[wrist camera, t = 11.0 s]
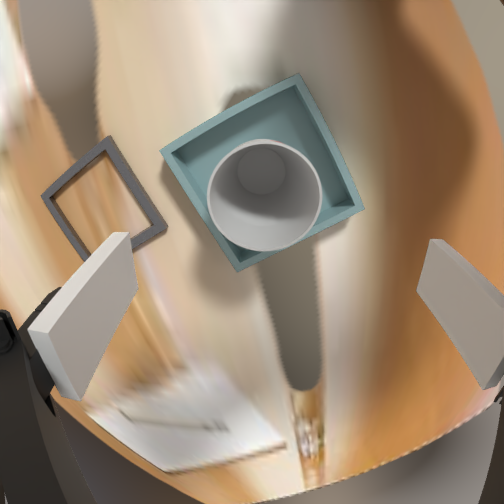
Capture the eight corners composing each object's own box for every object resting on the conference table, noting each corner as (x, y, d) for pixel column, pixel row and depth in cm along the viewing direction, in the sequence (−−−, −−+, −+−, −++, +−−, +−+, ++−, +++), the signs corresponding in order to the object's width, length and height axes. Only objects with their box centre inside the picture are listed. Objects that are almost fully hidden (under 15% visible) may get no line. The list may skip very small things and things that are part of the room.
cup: (314, 187, 31) (339, 221, 22) (245, 223, 33) (242, 268, 24) (277, 117, 28) (289, 120, 19) (205, 156, 30) (185, 177, 21)
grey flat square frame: (110, 135, 29) (107, 136, 28) (168, 225, 34) (166, 228, 33) (43, 194, 32) (40, 195, 31) (96, 270, 36) (93, 273, 35)
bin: (294, 76, 27) (299, 73, 24) (355, 200, 32) (364, 209, 30) (167, 146, 30) (159, 150, 27) (238, 259, 35) (237, 272, 33)
